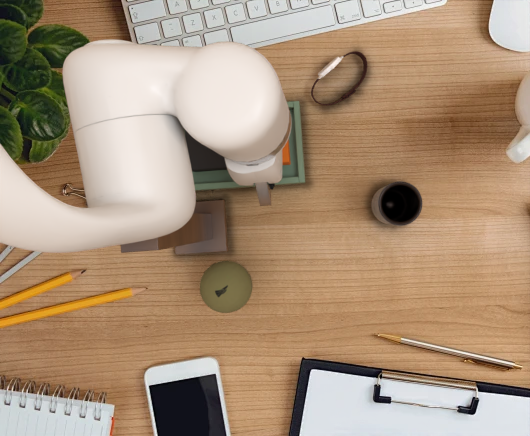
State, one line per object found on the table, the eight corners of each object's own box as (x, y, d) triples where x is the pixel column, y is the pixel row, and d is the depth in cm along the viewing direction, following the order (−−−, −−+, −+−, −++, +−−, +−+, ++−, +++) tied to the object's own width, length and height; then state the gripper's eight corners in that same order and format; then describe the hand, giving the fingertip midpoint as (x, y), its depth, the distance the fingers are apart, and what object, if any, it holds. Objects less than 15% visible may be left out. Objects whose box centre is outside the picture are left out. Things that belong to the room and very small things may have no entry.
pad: (194, 172, 72) (187, 170, 69) (191, 129, 72) (184, 125, 68) (236, 169, 72) (232, 166, 69) (233, 126, 72) (229, 122, 69)
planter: (394, 178, 72) (405, 172, 62) (416, 209, 72) (431, 208, 62) (363, 200, 72) (369, 198, 62) (385, 231, 72) (395, 234, 62)
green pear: (243, 312, 72) (229, 327, 62) (203, 286, 72) (183, 298, 62) (268, 272, 72) (259, 281, 62) (229, 247, 72) (213, 252, 62)
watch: (349, 45, 72) (350, 36, 69) (376, 74, 72) (378, 67, 69) (301, 89, 72) (300, 82, 69) (328, 118, 72) (328, 113, 69)
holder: (184, 191, 72) (180, 191, 70) (178, 112, 72) (174, 109, 70) (305, 183, 72) (305, 182, 70) (299, 104, 72) (299, 100, 70)
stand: (177, 254, 72) (103, 273, 48) (174, 203, 72) (97, 197, 48) (228, 250, 72) (178, 267, 48) (224, 200, 72) (173, 192, 48)
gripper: (196, 25, 53) (229, 74, 71) (211, 221, 53) (240, 220, 71) (283, 19, 53) (294, 69, 71) (297, 215, 53) (304, 215, 71)
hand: (267, 144), depth 71 cm, fingers closed on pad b, 4 cm apart
